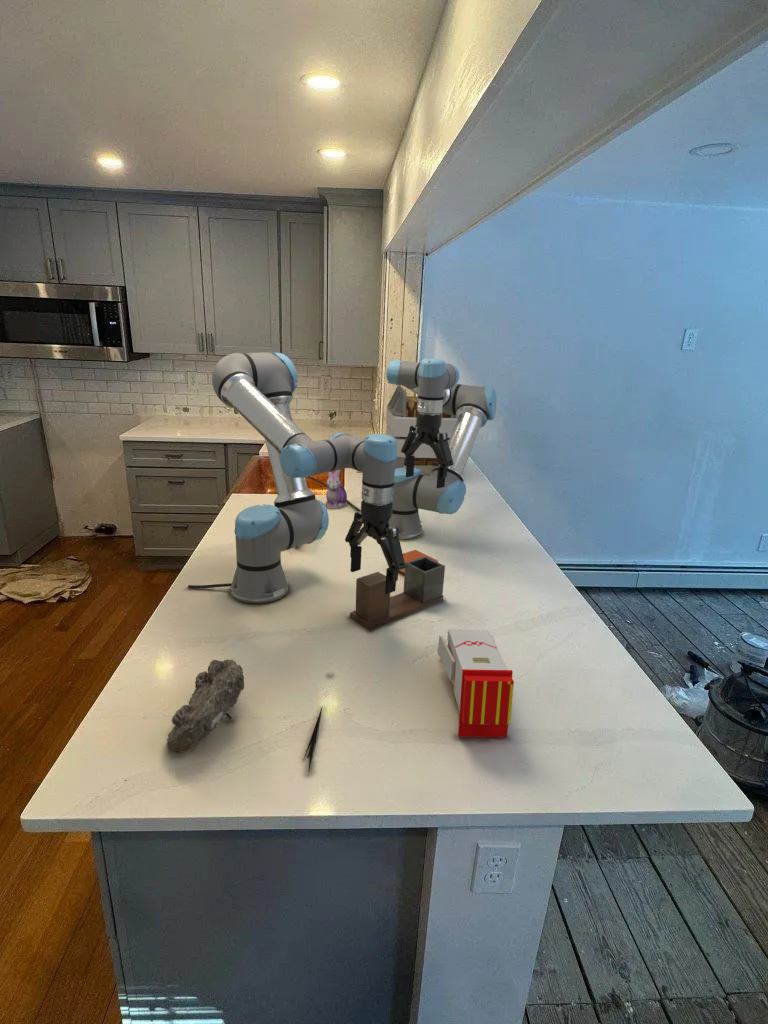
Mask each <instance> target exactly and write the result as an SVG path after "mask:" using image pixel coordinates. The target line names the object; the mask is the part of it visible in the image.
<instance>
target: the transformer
mask: <svg viewBox="0 0 768 1024" xmlns="http://www.w3.org/2000/svg"><path fill="white" fill-rule="evenodd" d="M407 394H408V393H407V390H406V389H404V388H403V386H402V385H396V388H395V390H394V392H393V394H392V395H391V398H390V400H389V402H388V404H387V405H386V413H385V414H386V415H385V423H386V428H385V435H389V436H391V437H393V438H394V439H395V440H396V451H397V459H396V466H395V469H397V468H404V467H405V466H406V464H405V462H406V456H405V454H404V453H402V452H401V449H402V447H403V445H404V443H405V440H406V438H407V436H408V434H409V429H410V426H414V425H416V417H417V413H419V412H418V411H417V403H418V395H417V396H415V395H414V396H413V395H412V396H411V395H407ZM440 414H441V415H442V421H441V427H440V428H439V432H440V433H447V435H448V442H449V439H450V437H451V434H452V432H453V430H454V427H455V425H456V422H457V420H458V419H457V417H456V416H455V415H450V414H446V413H444V412H442V413H440ZM417 436H418V434H417V435H416V437H417ZM416 437H415V438H416ZM414 441H415V439H414ZM435 443H436V442H435ZM412 456H415V460H414V467H417V466H418V467H438V466H439V462H438V460H437V458H436V455H435V453H434V451H433V449H432V448H431V447H430V445H426V444H421V445H420V446H419V448H418V449H417V450H416V451H415V453H414V455H412Z"/></svg>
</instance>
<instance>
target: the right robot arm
mask: <svg viewBox="0 0 768 1024" xmlns="http://www.w3.org/2000/svg"><path fill="white" fill-rule="evenodd" d="M385 376H386V377H385V378H386V380H387V383H389V384H391V385H395V386H398V385H400V386H401V387H404V388H406V389H408V390H409V391H411V392H413V393H414V394H416V395H417V396H418V403H417V411H418V412H419V413H417V417H416V425H414V426H410V429H409V434H408V436H407V438H406V440H405V443H404V445H403V447H402V449H401V452H402V453H404V454H405V456H406V462H405V464H406V465H405V466H406V467H405V466H404V468H397V469H395V477H394V496H393V501H392V503H393V508H392V517H391V518H390V520H389V526H390V527H392V528H395V527H397V528H398V529H399V541H410V540H415V539H418V538H420V537H421V536H422V535H423V525H422V520H421V518H420V515H419V510H423V511H428V512H434V513H437V514H438V513H439V514H441V515H442V514H444V515H445V514H446V515H453V514H456V513H457V512H458V511H459V510H460V508H461V507H462V505H463V503H464V500H465V496H466V493H467V485H466V483H465V480H464V477H463V476H462V475H463V473H464V471H465V468H466V466H467V463H468V460H469V458H470V455H471V453H472V450H473V446H474V445H475V442H476V439H477V437H478V434H479V431H480V429H482V428H483V427H485V426H486V424H487V422H488V421H494V419H495V418H496V412H497V392H496V390H495V388H493V387H489V386H486V385H483V386H479V385H478V386H477V385H469V384H461V383H459V380H460V371H459V369H458V367H456V365H454V364H453V363H446V361H445V360H444V359H437V358H423V359H421V361H410V360H409V361H408V360H401V359H400V360H399V359H398V360H391V361H390V362H389V363H388V364H387V367H386V373H385ZM442 412H444V413H446V414H450V415H455V416H456V417H457V419H458V420H457V422H456V425H455V427H454V430H453V432H452V434H451V437H450V439H449V442H448V435H447V433H440V432H439V428H440V427H441V421H442V415H441V414H440V413H442ZM417 434H418V436H417V437H416V435H417ZM415 437H416V438H415ZM414 439H415V441H414ZM435 442H436V443H435ZM421 444H426V445H430V447H431V448H432V449H433V451H434V453H435V455H436V458H437V460H438V462H439V466H438V467H437V466H435V467H434V468H433V469H432V470H431V472H430V474H429V475H427V474H422V470H421V468H419V467H416V466H414V460H415V456H412V455H414V453H415V451H416V450H417V449H418V448H419V446H420V445H421ZM307 478H308V479H310V480H313V481H315V482H316V483H319V484H320V485H323V486H324V487H326V488H328V487H327V483H324V482H323V481H320V480H318V479H316V478H314V477H312V476H309V477H307ZM346 504H348V505H350V506H351V507H352V508H353V509H355V510H356V511H357V512H360V511H361V509H360V508H359V507H357V506H356V505H354V504H353V503H352V502H351V501H349V500H348V499H347V501H346ZM384 538H386V537H385V536H384Z"/></svg>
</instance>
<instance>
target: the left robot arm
mask: <svg viewBox="0 0 768 1024" xmlns="http://www.w3.org/2000/svg"><path fill="white" fill-rule="evenodd" d="M297 383H298V372H297V369H296V366H295V364H294V363H293V361H292V359H290V358H289V357H288V356H287V355H286V354H284V353H282V352H272V351H267V352H266V351H265V352H243V353H241V352H235V353H230V354H227V355H225V356H224V357H222V358H221V359H220V360H219V361H218V362H217V363H216V365H215V366H214V367H213V371H212V374H211V384H212V388H213V391H214V394H215V395H216V396H217V398H218V399H219V400H220V401H221V402H222V404H224V405H225V407H228V408H230V409H235V411H236V412H237V413H238V414H239V415H240V416H241V417H243V419H245V420H246V422H247V423H249V424H250V426H251V427H253V428H254V430H255V431H256V432H258V433H259V435H261V436H262V437H263V438H264V441H265V445H266V449H267V454H268V459H269V464H270V467H271V470H272V476H273V480H274V484H275V489H276V493H277V494H276V495H277V496H276V498H275V500H274V501H273V504H261V505H260V504H257V505H251V506H249V507H246V508H244V509H242V510H241V511H240V512H238V514H237V515H236V517H235V521H234V535H235V553H236V554H235V555H236V568H235V571H234V575H233V578H232V582H230V583H215V584H200V585H198V584H195V585H194V584H188V585H187V588H188V589H212V588H230V590H231V591H230V592H231V596H232V597H233V598H234V599H235V600H237V601H239V602H242V603H245V604H255V605H259V604H261V605H262V604H268V603H272V602H275V601H278V600H280V599H282V598H284V596H286V595H287V593H288V591H289V583H288V579H287V576H286V573H285V571H284V568H283V566H282V552H284V551H287V550H291V549H294V548H298V547H301V546H304V545H308V544H309V545H310V544H312V543H314V542H316V541H319V540H321V539H323V537H324V536H325V535H326V533H327V531H328V529H329V524H330V523H329V521H330V519H329V512H328V508H327V506H326V505H324V502H323V501H322V500H320V499H317V498H316V493H314V491H311V490H310V489H309V488H308V482H307V479H306V478H308V477H309V476H310V477H312V476H317V475H322V474H325V473H329V472H331V471H333V472H335V471H336V470H340V471H341V470H345V469H352V470H354V471H357V472H360V473H362V478H361V501H360V510H361V511H360V512H359V511H357V512H354V514H353V520H352V523H351V524H350V527H349V529H348V532H347V533H346V536H345V538H344V541H345V542H346V543H348V545H349V547H350V554H349V557H350V572H351V573H354V572H357V571H360V570H362V569H361V567H362V566H361V565H362V550H363V547H362V546H361V545H362V543H363V542H364V540H366V538H367V537H370V538H372V539H373V540H375V541H376V543H377V544H378V545H379V546H380V549H381V551H382V554H383V556H384V558H385V561H386V564H387V566H388V567H387V568H386V569H385V570H386V571H385V572H386V573H385V576H386V585H385V593H386V594H389V593H390V594H391V593H394V592H396V588H397V586H396V585H397V581H398V580H399V570H401V569H404V568H405V567H406V565H405V561H404V557H403V553H404V552H403V549H402V545H401V540H399V529H398V528H397V527H395V528H392V527H390V526H389V520H390V518H391V517H392V508H393V503H392V501H393V496H394V477H395V466H396V459H397V451H396V440H395V439H394V438H393V437H391V436H389V435H386V434H383V433H372V434H368V435H366V436H365V437H364V438H361V437H358V436H356V435H353V434H350V433H345V432H336V433H334V434H332V435H331V436H330V437H328V438H327V439H320V440H313V439H312V438H311V437H310V436H309V435H308V434H306V433H305V431H303V430H302V429H301V428H300V427H299V426H298V425H297V424H296V423H295V422H294V421H293V416H292V412H291V408H290V407H291V406H290V404H291V402H292V401H293V399H294V394H293V393H294V392H295V391H296V389H297V387H298V384H297ZM384 536H385V537H384Z"/></svg>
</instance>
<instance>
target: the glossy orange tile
mask: <svg viewBox="0 0 768 1024" xmlns="http://www.w3.org/2000/svg"><path fill="white" fill-rule="evenodd" d="M402 553H403V557H404V561H405V563H407V562H410V561H413V560H416V559H419V558H422V557H425V556H426V557H428V558H430V559H432V560H434V561H436V562H438V563H439V560H438V559H436V558H434V557H432V556H429V555H428V554H425V553H423V552H421V551H420V550H417V549H413V550H410V551H406V552H402ZM398 572H401V573H403V574H405V568H404V569H401V570H398Z"/></svg>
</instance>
